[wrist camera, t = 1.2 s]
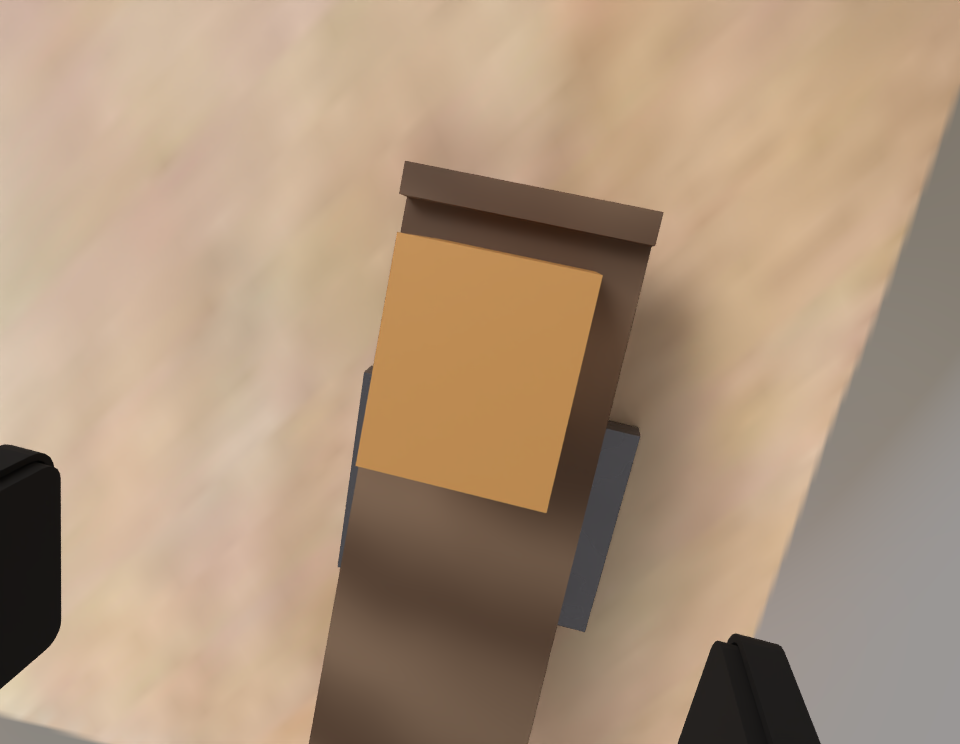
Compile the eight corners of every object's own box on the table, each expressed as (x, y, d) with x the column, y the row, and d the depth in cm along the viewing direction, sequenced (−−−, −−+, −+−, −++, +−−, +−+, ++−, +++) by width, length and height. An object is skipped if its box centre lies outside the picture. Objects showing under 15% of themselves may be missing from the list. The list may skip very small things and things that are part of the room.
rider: (444, 239, 22) (397, 232, 16) (595, 271, 22) (602, 275, 16) (410, 414, 23) (355, 465, 17) (553, 448, 23) (546, 513, 17)
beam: (422, 171, 23) (405, 160, 21) (653, 217, 23) (663, 212, 20) (299, 847, 29) (273, 902, 26) (483, 904, 28) (475, 966, 25)
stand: (371, 365, 30) (322, 409, 25) (638, 427, 29) (648, 487, 24) (327, 683, 36) (279, 774, 31) (549, 746, 35) (540, 852, 29)
